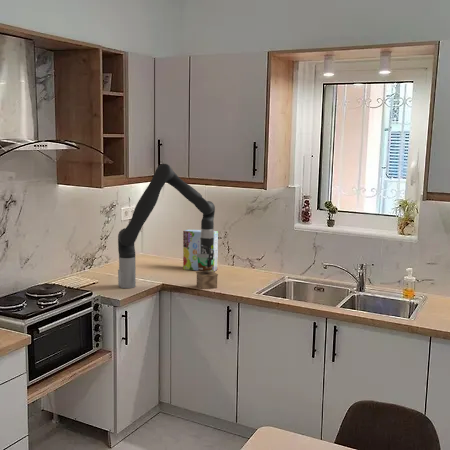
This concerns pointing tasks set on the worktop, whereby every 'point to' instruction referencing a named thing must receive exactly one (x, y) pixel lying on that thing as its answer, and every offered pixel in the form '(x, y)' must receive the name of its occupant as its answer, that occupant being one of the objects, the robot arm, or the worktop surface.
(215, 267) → the snack box
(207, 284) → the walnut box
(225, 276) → the worktop surface
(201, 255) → the food container
